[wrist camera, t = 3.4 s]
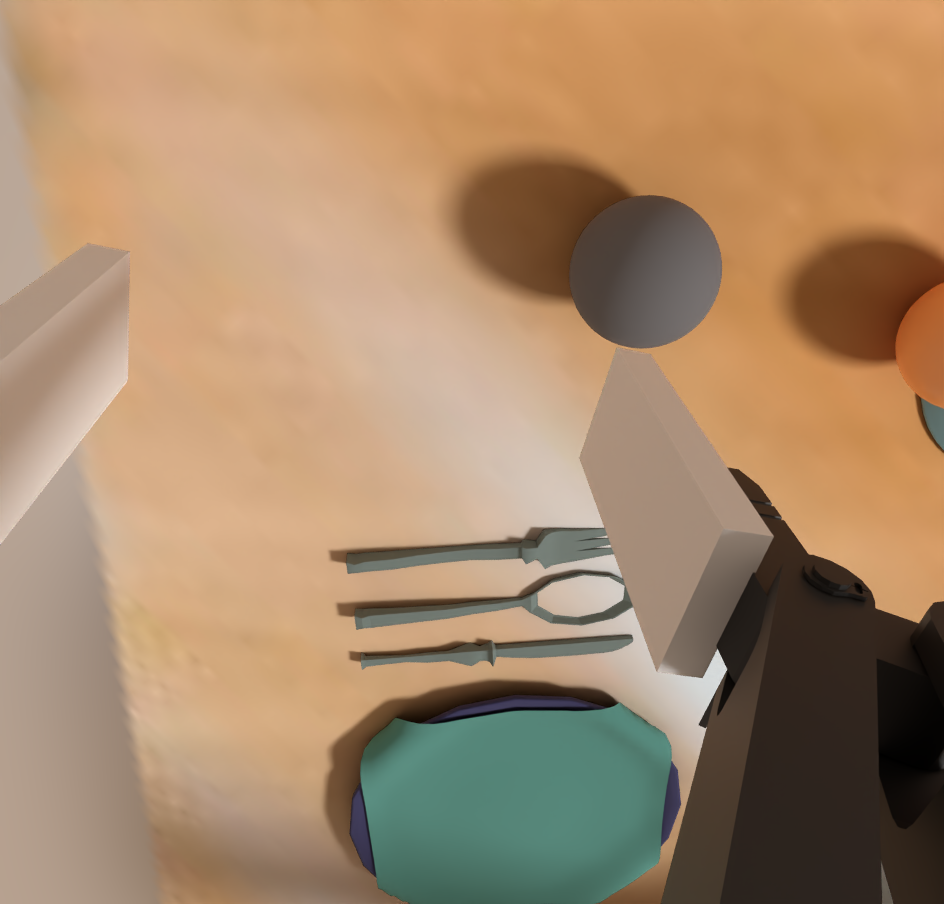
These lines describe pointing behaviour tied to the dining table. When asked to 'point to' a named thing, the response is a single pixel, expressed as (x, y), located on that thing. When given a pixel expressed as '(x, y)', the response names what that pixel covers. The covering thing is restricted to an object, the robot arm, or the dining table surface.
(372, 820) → the cutlery set
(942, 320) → the orange ball
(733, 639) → the robot arm
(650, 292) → the gray ball
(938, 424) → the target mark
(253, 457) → the dining table surface
